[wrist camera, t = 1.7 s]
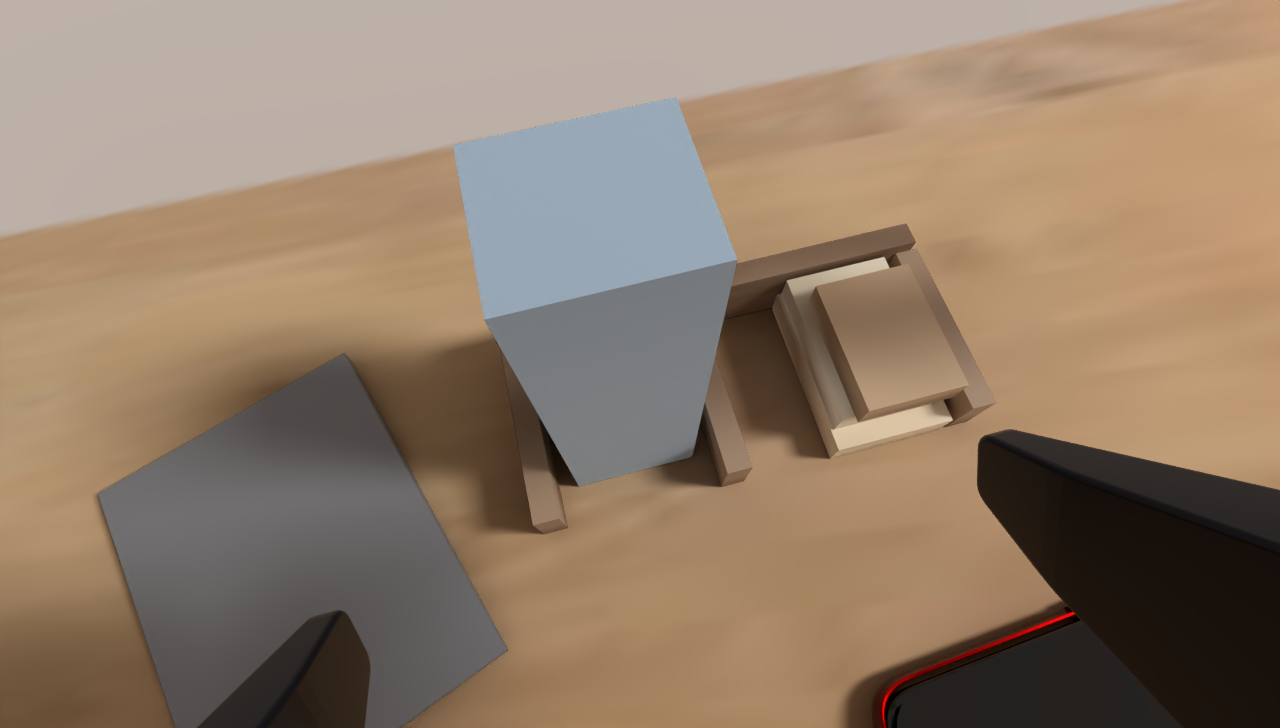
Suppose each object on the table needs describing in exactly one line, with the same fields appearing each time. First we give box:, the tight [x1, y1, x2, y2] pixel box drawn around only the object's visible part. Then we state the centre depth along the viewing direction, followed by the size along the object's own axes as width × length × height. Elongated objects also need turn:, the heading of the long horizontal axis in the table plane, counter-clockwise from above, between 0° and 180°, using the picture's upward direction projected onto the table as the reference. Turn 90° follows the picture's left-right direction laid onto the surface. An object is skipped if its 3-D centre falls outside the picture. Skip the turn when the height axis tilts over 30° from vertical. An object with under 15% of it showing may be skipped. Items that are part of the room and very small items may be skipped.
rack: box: [496, 224, 996, 534], centre depth 21 cm, size 7×15×2 cm, turn 105°
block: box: [453, 97, 737, 486], centre depth 16 cm, size 4×4×12 cm
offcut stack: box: [772, 257, 969, 459], centre depth 21 cm, size 6×4×3 cm, turn 15°
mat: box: [98, 353, 508, 728], centre depth 20 cm, size 12×9×1 cm
